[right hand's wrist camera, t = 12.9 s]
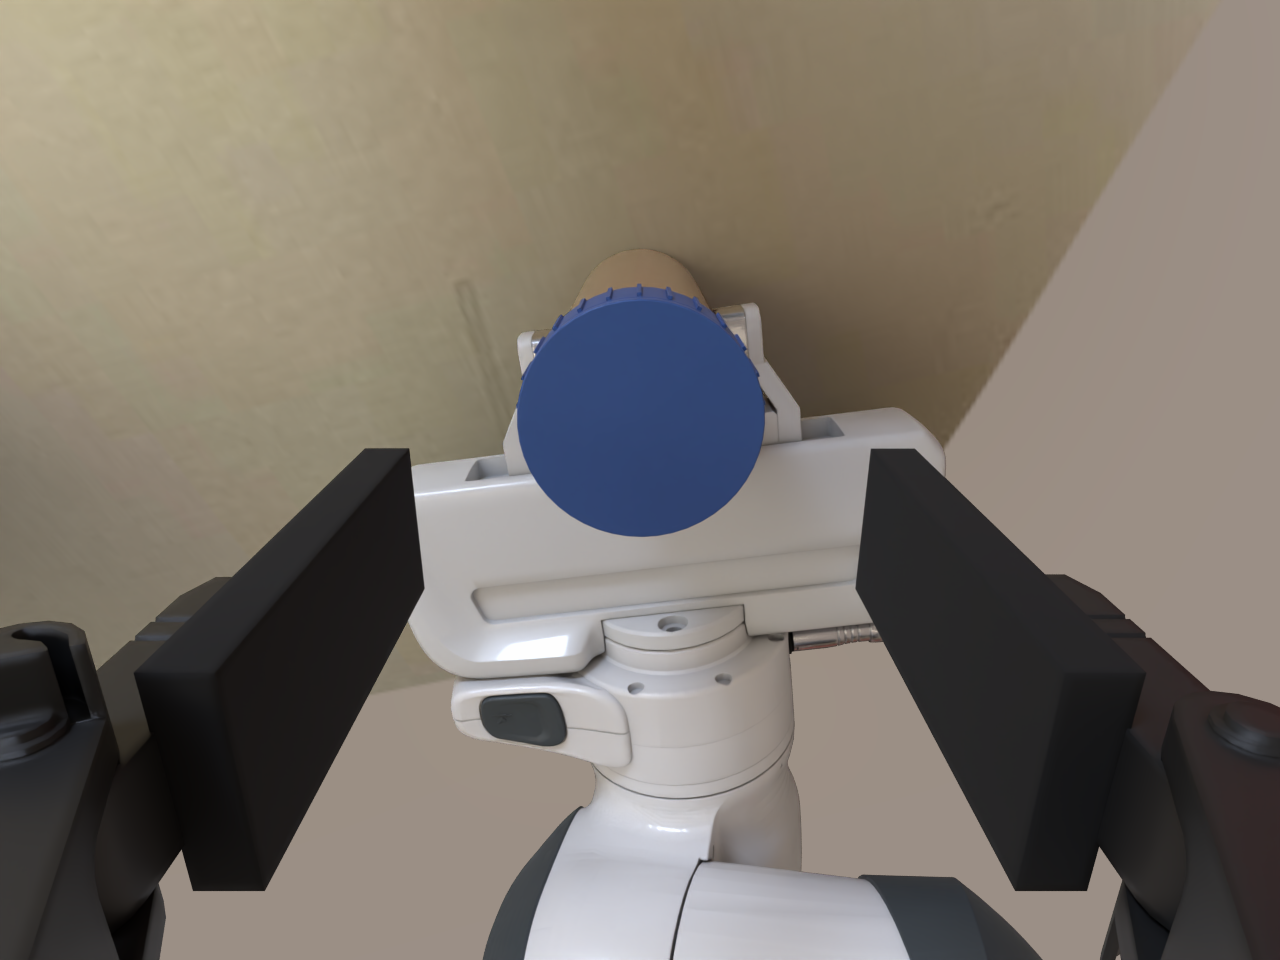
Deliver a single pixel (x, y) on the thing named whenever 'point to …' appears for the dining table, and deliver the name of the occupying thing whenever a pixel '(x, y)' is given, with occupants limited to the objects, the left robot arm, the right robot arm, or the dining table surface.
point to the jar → (639, 275)
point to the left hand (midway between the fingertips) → (635, 319)
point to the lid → (640, 412)
